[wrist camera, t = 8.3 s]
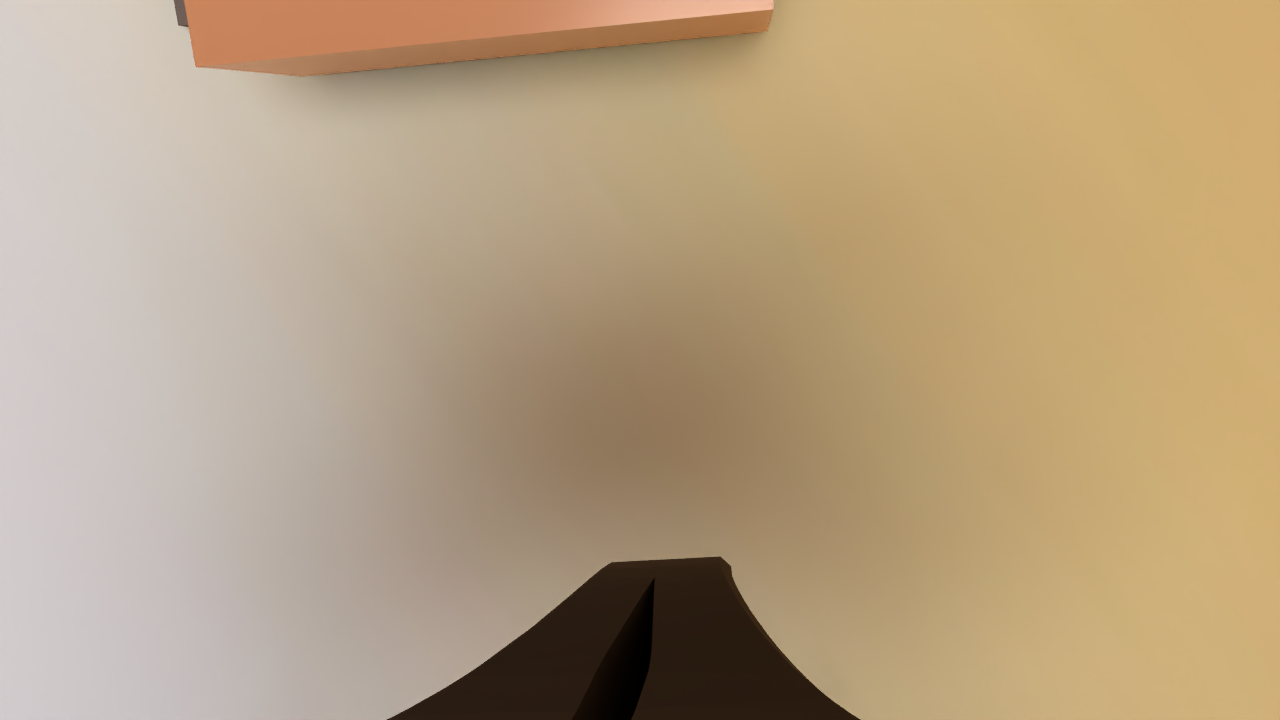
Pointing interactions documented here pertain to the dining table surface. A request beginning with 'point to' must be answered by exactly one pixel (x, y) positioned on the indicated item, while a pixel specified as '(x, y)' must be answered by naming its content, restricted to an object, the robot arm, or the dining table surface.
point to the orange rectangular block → (441, 30)
